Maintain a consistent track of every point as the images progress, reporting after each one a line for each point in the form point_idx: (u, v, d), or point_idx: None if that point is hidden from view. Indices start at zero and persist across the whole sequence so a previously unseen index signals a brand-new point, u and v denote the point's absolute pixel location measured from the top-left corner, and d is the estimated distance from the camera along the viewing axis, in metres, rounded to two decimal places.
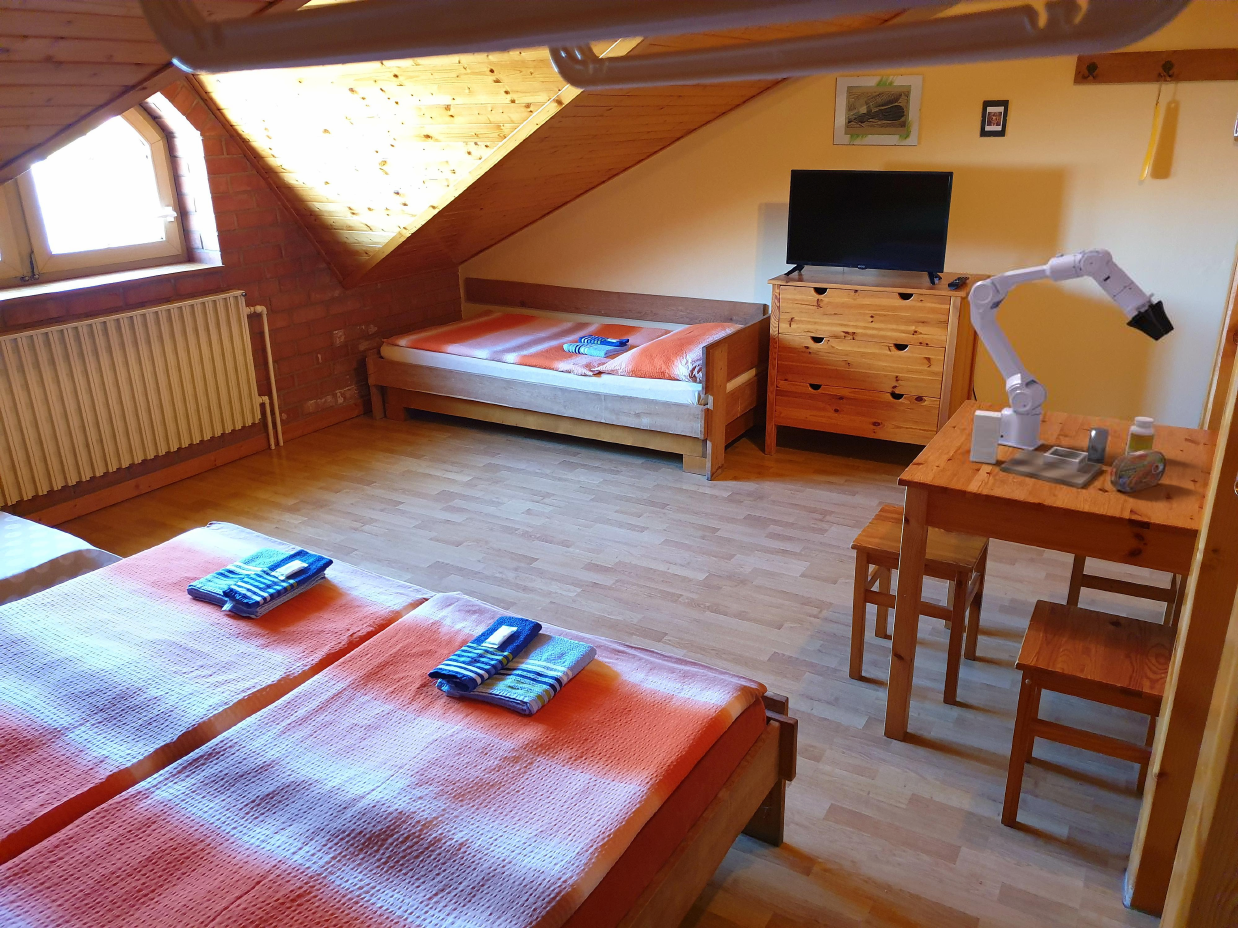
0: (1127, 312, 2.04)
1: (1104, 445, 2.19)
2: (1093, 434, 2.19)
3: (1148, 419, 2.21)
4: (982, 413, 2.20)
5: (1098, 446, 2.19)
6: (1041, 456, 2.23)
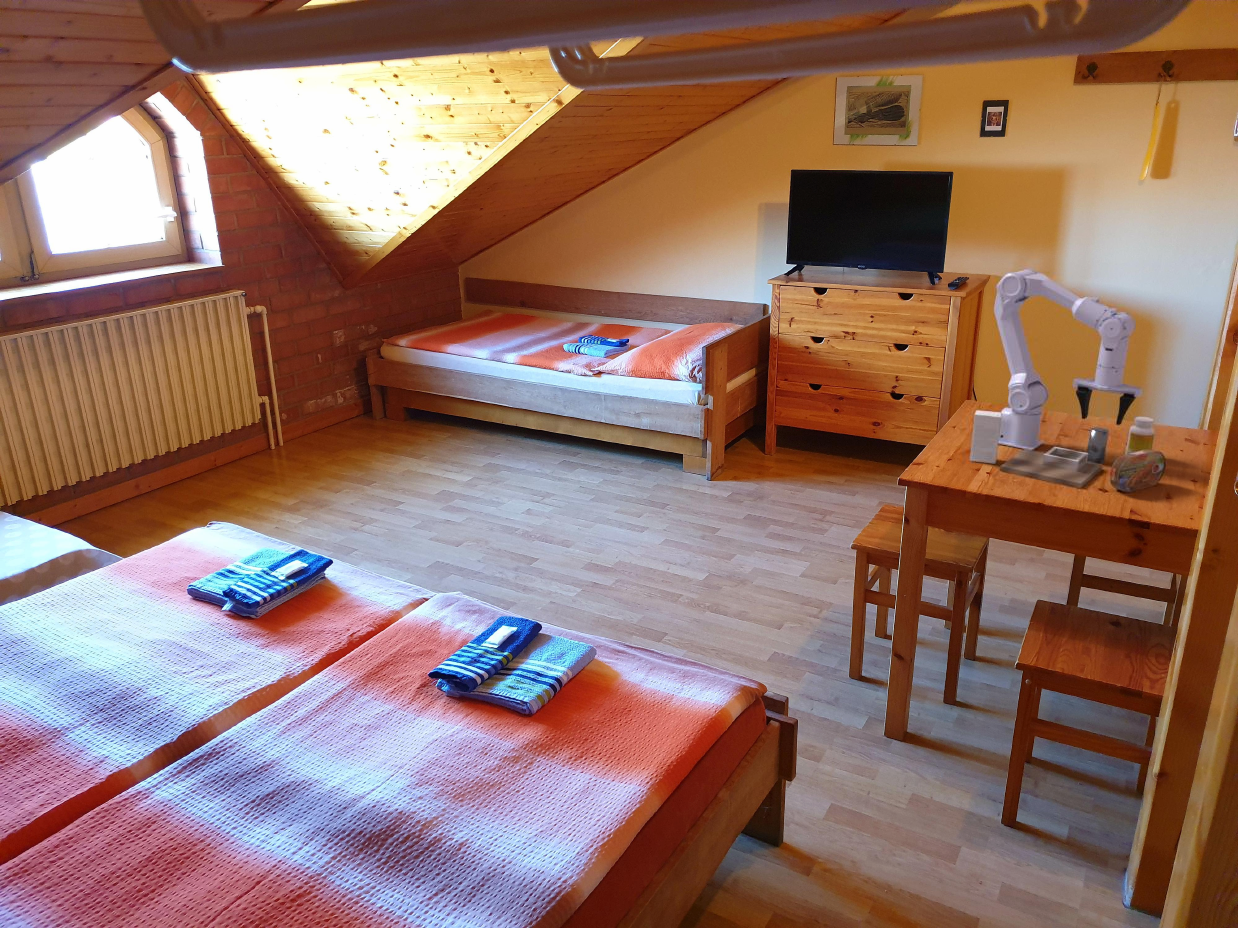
0: (1075, 380, 2.20)
1: (1104, 445, 2.19)
2: (1092, 434, 2.19)
3: (1148, 419, 2.21)
4: (982, 413, 2.20)
5: (1098, 446, 2.19)
6: (1041, 456, 2.23)
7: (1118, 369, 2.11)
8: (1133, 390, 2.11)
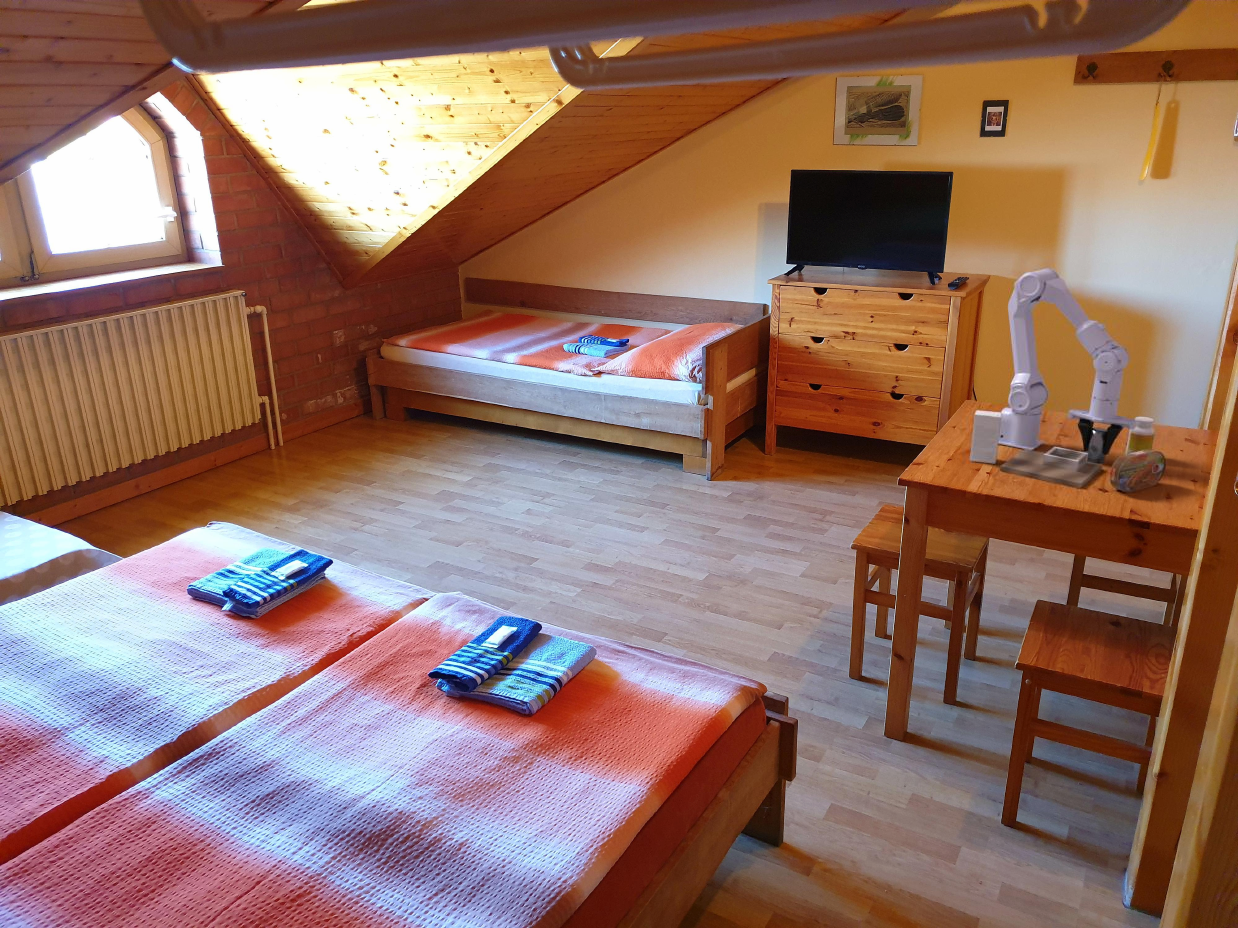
0: (1070, 411, 2.23)
1: (1104, 445, 2.19)
2: (1093, 435, 2.19)
3: (1148, 419, 2.21)
4: (982, 413, 2.20)
5: (1098, 446, 2.19)
6: (1041, 456, 2.23)
7: (1112, 401, 2.14)
8: (1127, 422, 2.14)
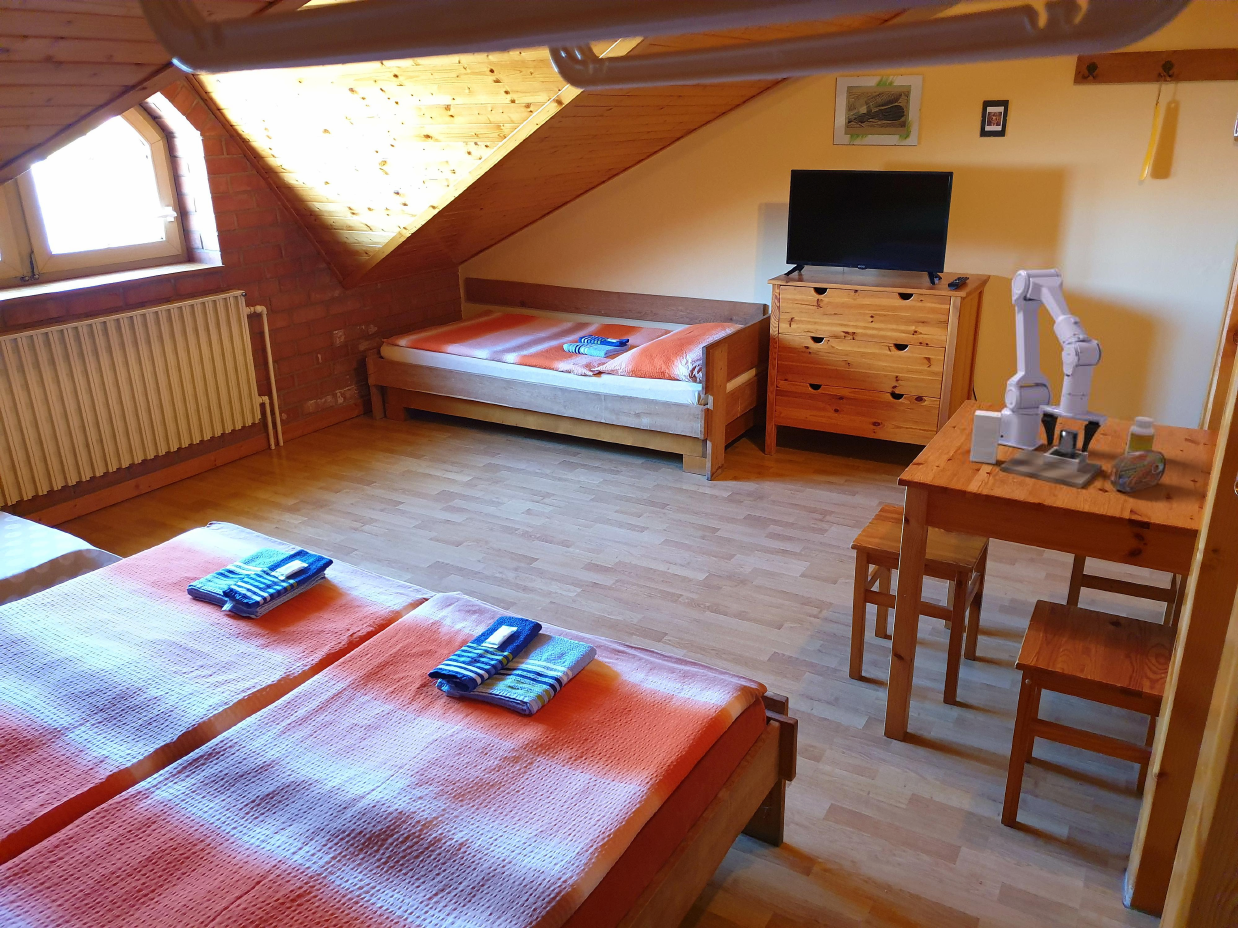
0: None
1: (1074, 447, 2.14)
2: (1062, 436, 2.14)
3: (1148, 419, 2.21)
4: (982, 413, 2.20)
5: (1068, 448, 2.14)
6: (1041, 456, 2.23)
7: (1083, 397, 2.09)
8: (1098, 418, 2.08)
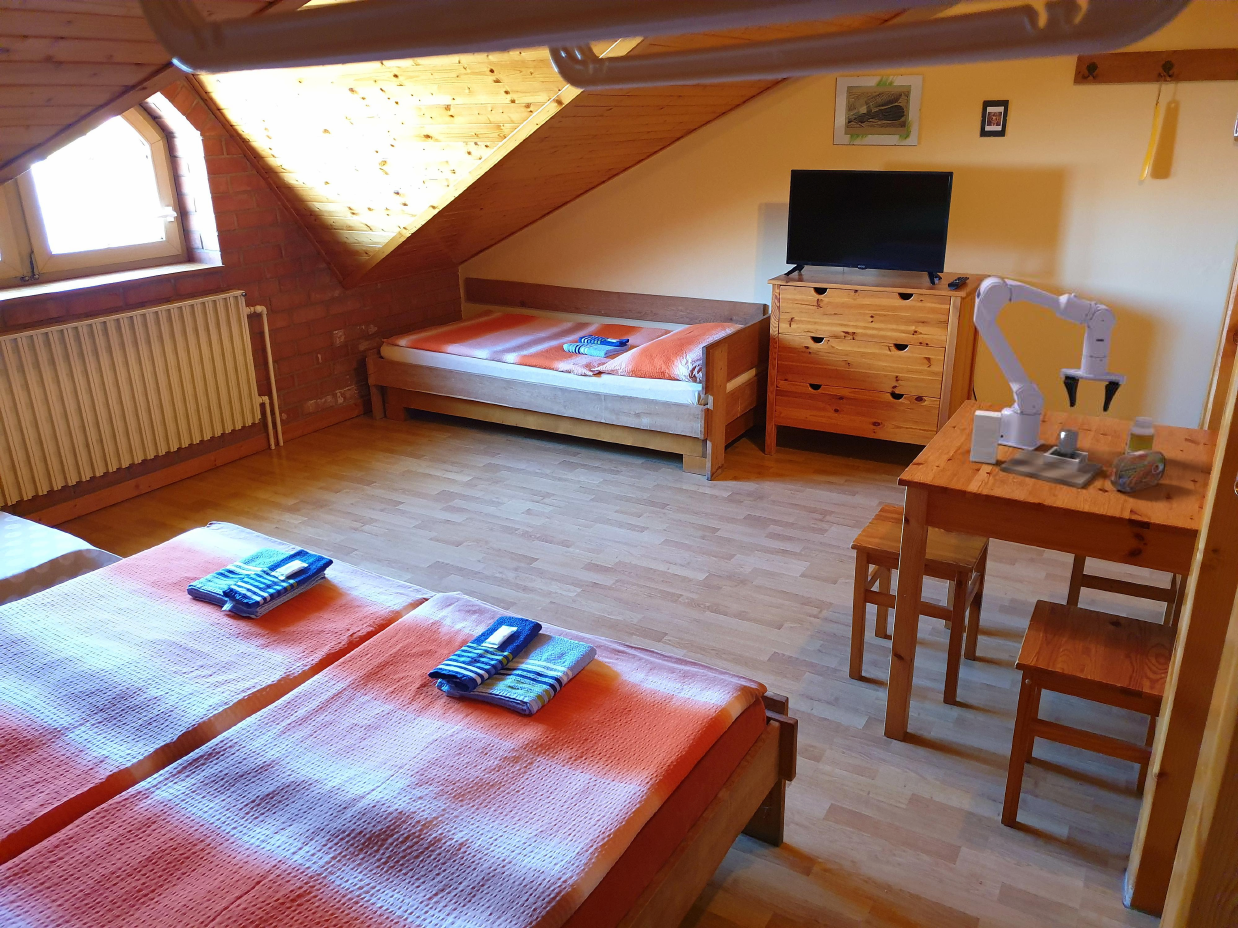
0: None
1: (1074, 447, 2.14)
2: (1062, 437, 2.14)
3: (1148, 419, 2.21)
4: (982, 413, 2.20)
5: (1068, 449, 2.14)
6: (1041, 456, 2.23)
7: (1102, 358, 2.21)
8: (1117, 378, 2.20)
